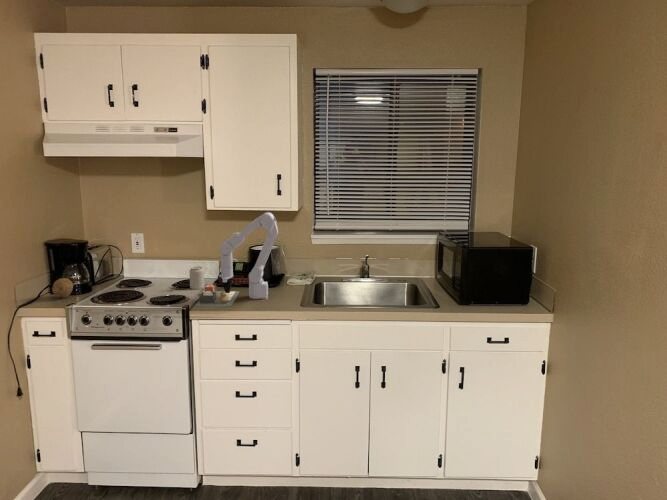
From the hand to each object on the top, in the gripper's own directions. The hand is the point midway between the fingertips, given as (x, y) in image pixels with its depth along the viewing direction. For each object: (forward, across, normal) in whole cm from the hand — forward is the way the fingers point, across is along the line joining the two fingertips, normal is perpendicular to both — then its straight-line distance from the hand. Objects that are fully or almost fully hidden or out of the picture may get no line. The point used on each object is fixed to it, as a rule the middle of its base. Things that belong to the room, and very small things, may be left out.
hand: (227, 292), depth 236 cm
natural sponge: (+3, +1, -80) cm, 81 cm away
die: (+2, -5, -10) cm, 11 cm away
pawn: (+2, +10, 0) cm, 10 cm away
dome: (+2, +8, -8) cm, 12 cm away
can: (+3, -18, -19) cm, 26 cm away
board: (+3, +3, -4) cm, 6 cm away
